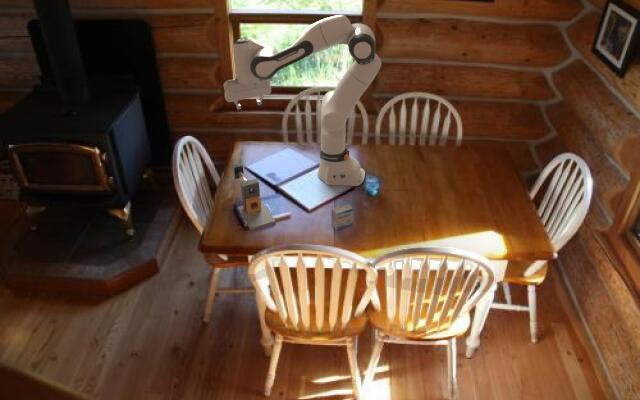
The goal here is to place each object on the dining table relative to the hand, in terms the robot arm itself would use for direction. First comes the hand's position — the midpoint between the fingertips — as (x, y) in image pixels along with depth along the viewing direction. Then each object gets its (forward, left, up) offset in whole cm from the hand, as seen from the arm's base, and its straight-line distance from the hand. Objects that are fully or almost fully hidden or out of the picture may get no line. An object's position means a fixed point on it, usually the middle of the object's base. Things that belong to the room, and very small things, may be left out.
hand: (249, 106), depth 227 cm
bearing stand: (-12, +31, -35) cm, 48 cm away
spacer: (-10, +29, -34) cm, 46 cm away
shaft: (-2, +20, -27) cm, 34 cm away
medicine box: (-48, +28, -35) cm, 66 cm away
